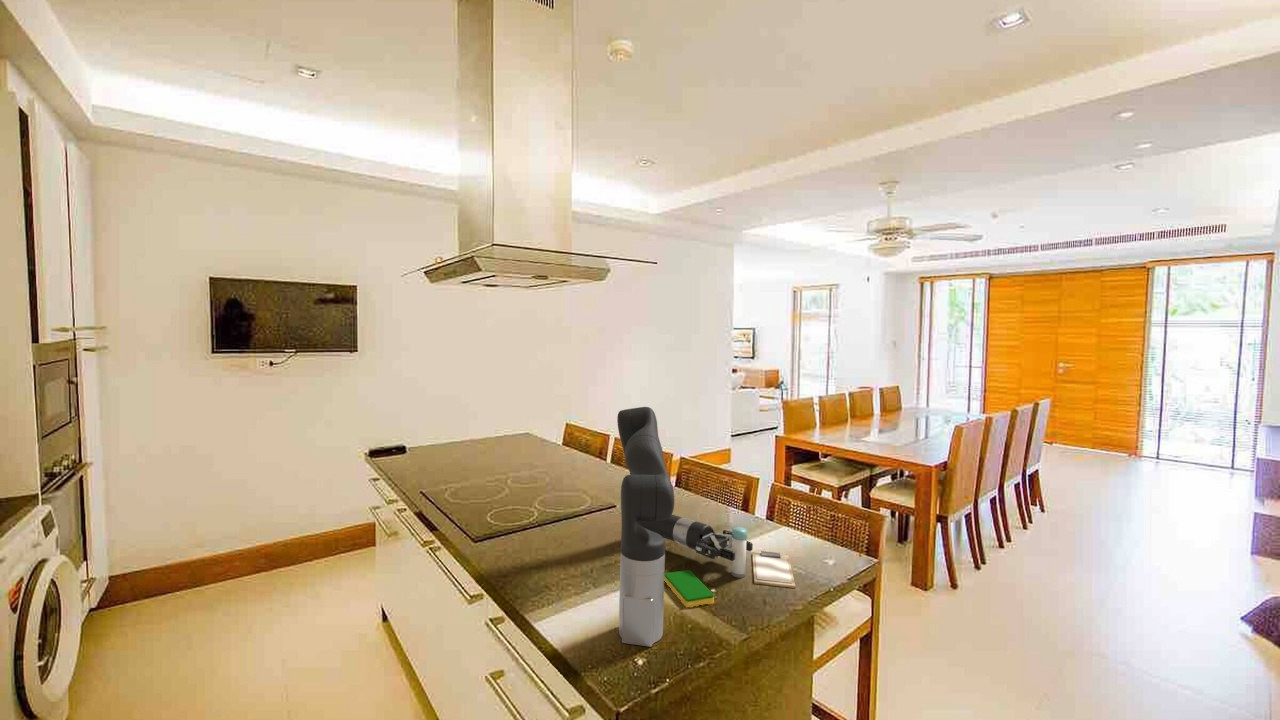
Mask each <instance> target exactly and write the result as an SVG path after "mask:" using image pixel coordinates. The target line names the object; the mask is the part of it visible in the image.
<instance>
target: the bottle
mask: <svg viewBox="0 0 1280 720" xmlns="http://www.w3.org/2000/svg"><path fill="white" fill-rule="evenodd" d="M731 532H732V537H733V538H732V548H731V551H733V552H735V560H733V561H731V568H730V569H731V570H730V572H731V573H730V575H731V577H734V578H737V579H743V578H745V577H746V564H747V563H746V561H747V559H746V558H747V550H746V541H748V540H747V539H748V529H747V528H745V527H741V526H736V527H733V528H732V530H731Z"/></svg>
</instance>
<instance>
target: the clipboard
mask: <svg viewBox="0 0 1280 720" xmlns="http://www.w3.org/2000/svg"><path fill="white" fill-rule="evenodd" d="M752 569H753V582H754V583H753V584H755V585H756V584H757V585H763V586H764V585H765V586H772V587H781V588H791V589H796V583H795V579H794V574H793V570H792V565H791V561H790V556H789V555H785V554H784V555H783V554H781V552H773V551H765V550H763V551H762V550H761V551H760V552H753V551H752Z"/></svg>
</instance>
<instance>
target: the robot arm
mask: <svg viewBox="0 0 1280 720" xmlns="http://www.w3.org/2000/svg"><path fill="white" fill-rule="evenodd" d="M616 419H617V429H618V435H619V439H620V442H621V447H622V450H623V451H622V452H623V454H624V457H625V465H626V467H627V469H628V471H629V474H627V475H625V476H624V477H623V480H622V482H621V486H620V487H621V488H620V511H621V512H620V514H621V515H620V516H621V517H620V518H621V537H620V538H621V541H620V562H619V563H620V565H619V566H620V567H619V568H620V569H619V599H618V601H619V602H618V604H619V605H618V634H619V637H620V638H621V643H622V644H629V645H637V646H641V647H642V646H643V647H650V648H651V647H653V645H654V643H656V642H658V641H660V640H661V638H662V637H663V634H664V606H665V605H664V604H665V603H664V602H665V600H664V599H665V582H664V574H665V568H666V565H665V564H666V563H665V562H666V541H665V539H666V540H669V541H672V542H674V543H676V544H679V545H680V546H683V547H684V548H687V549H690V550H694V551H695V553H697V554H700V555H702V556H704V557H706V558H709V559H710V560H711V559H712V560H714V559H716V558H718V559H720V558H723V559H726V560H728V561H731V562H732V561H733V560H735V552H733V551H732V538H733V537H732V531H730V530H727V529H723V530H722V533H721V532H715V530H714V528H713V527H712V526H711V525H709V524H706V523H703V522H700V521H698V520H693V519H691V518H686V517H681V516H679V515H676V514H673V513H674V509H675V502H676V501H675V492H674V488H673V483H672V480H671V478H670V475H669V472H668V471H667V468H666V465H665V458H664V451H663V447H662V444H661V441H660V437H659V430H658V421H657V416H656V413H655V411H654V410H653V408H651V407H649V406H641V407H640V406H638V407H633V408H627V409H621V410H619V411H618V414H617V417H616ZM753 545H754V544H753V542H751V541H748V540H746V552H751V551H752V552H753V550H754V549H753ZM709 551H710V552H709Z"/></svg>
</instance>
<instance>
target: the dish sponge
mask: <svg viewBox="0 0 1280 720" xmlns="http://www.w3.org/2000/svg"><path fill="white" fill-rule="evenodd" d="M664 581H665V582H666V583H667V584H666V583H665V582H664V583H665V584H666V585H667V587H668V588H669V587H670V588H671V589H670V588H669V589H670V590H671V591H672V592H673V594H674V593H675V594H676V595H677V596H676V595H675V594H674V595H675V596H676V598H678V600H679V599H680V600H681V601H680V600H679V601H680V602H681V603H682V605H684V606H686V607H685V608H687V607H690V608H693V607H692V606H696V607H700V606H699V605H702V606H704V605H703V604H708V605H713V604H714V602H715V594H714V593H713V592H712V591H711V590H710V589H709V588H708V587H707V586H706V585H705V584H704V583H703V582H702V581H701V579H699V578H698V577H697V576H696V575H695V574H694V573H693V572H692V570H690V569H686V570H679V571H672V572H666V573H665V572H664Z"/></svg>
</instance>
